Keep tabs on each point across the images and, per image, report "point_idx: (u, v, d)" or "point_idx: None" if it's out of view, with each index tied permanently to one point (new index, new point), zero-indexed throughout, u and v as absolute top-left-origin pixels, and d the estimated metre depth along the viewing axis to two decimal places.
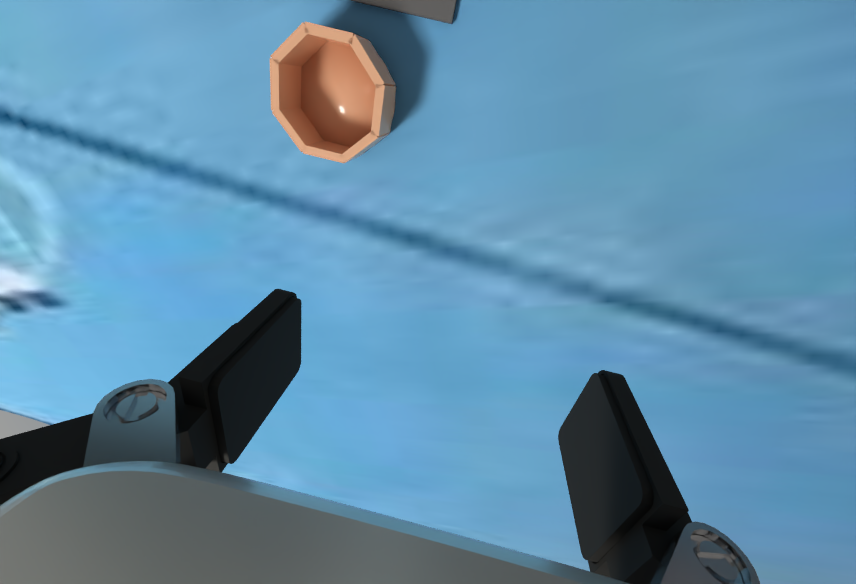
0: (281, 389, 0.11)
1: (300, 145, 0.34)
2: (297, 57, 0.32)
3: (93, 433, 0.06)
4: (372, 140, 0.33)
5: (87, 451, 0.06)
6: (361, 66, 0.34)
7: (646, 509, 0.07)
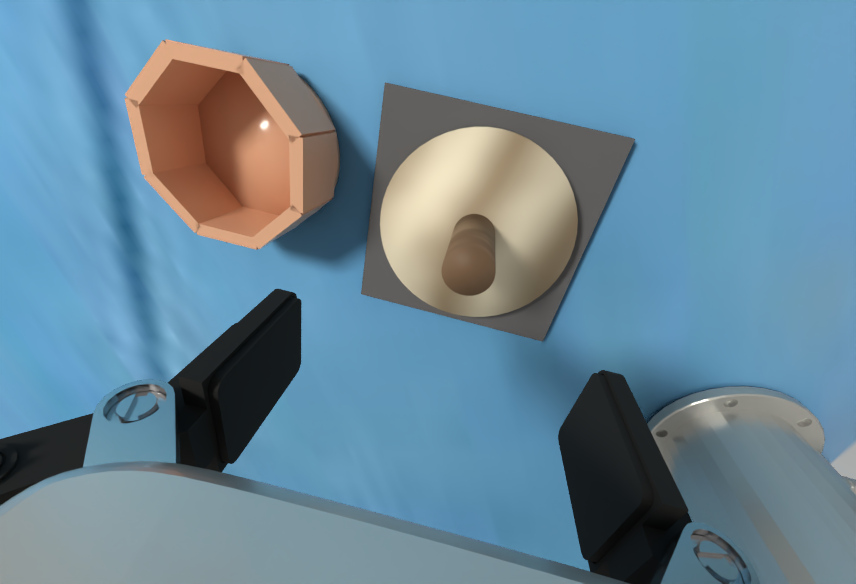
0: (281, 389, 0.11)
1: (134, 94, 0.19)
2: None
3: (93, 433, 0.06)
4: (189, 224, 0.23)
5: (87, 451, 0.06)
6: None
7: (646, 509, 0.07)
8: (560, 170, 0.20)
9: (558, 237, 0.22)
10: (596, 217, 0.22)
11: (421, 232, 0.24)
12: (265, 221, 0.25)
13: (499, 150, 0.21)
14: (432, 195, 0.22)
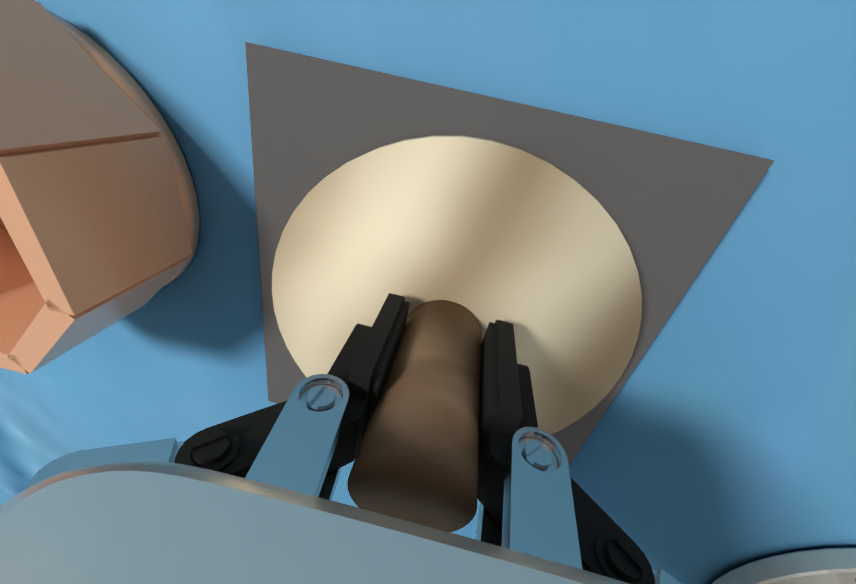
0: None
1: None
2: None
3: (288, 405, 0.07)
4: None
5: (277, 420, 0.07)
6: None
7: (493, 419, 0.08)
8: (613, 226, 0.10)
9: (601, 344, 0.12)
10: (671, 304, 0.12)
11: (348, 326, 0.13)
12: None
13: (486, 185, 0.10)
14: (360, 266, 0.12)
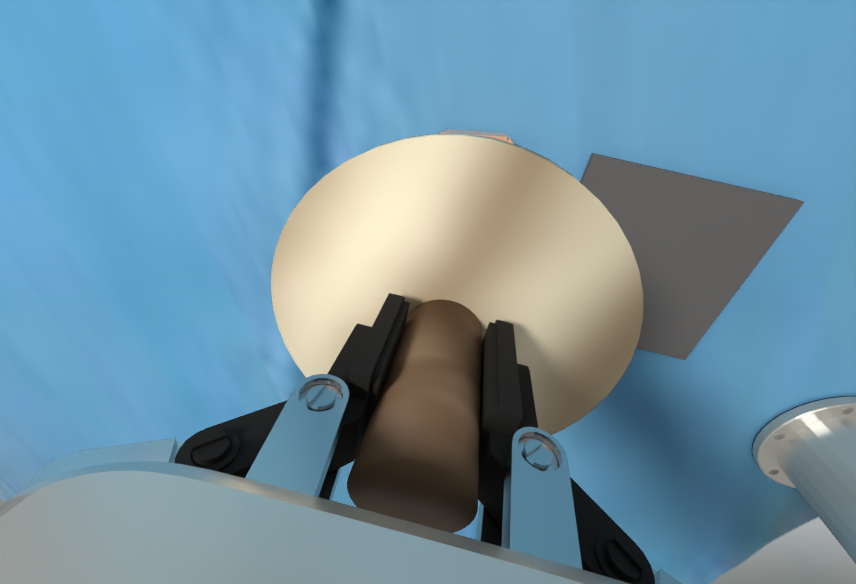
0: None
1: None
2: None
3: (288, 405, 0.07)
4: None
5: (277, 420, 0.07)
6: None
7: (493, 419, 0.08)
8: (614, 225, 0.10)
9: (603, 344, 0.12)
10: (756, 261, 0.27)
11: (348, 326, 0.13)
12: None
13: (487, 184, 0.10)
14: (360, 266, 0.12)
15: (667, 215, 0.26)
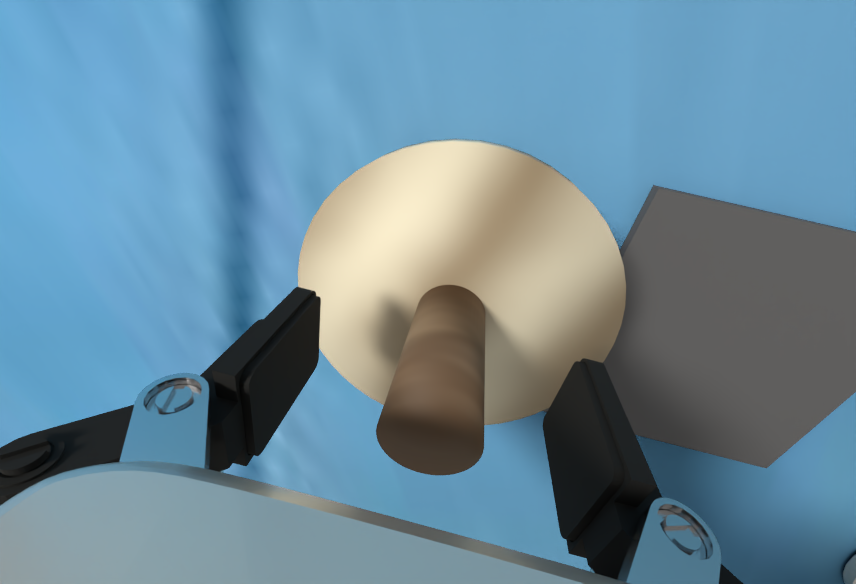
0: (301, 385, 0.11)
1: None
2: None
3: (134, 421, 0.06)
4: None
5: (126, 439, 0.06)
6: None
7: (617, 486, 0.07)
8: (605, 226, 0.12)
9: (590, 329, 0.13)
10: None
11: (365, 305, 0.15)
12: None
13: (498, 185, 0.11)
14: (381, 251, 0.13)
15: (768, 281, 0.17)
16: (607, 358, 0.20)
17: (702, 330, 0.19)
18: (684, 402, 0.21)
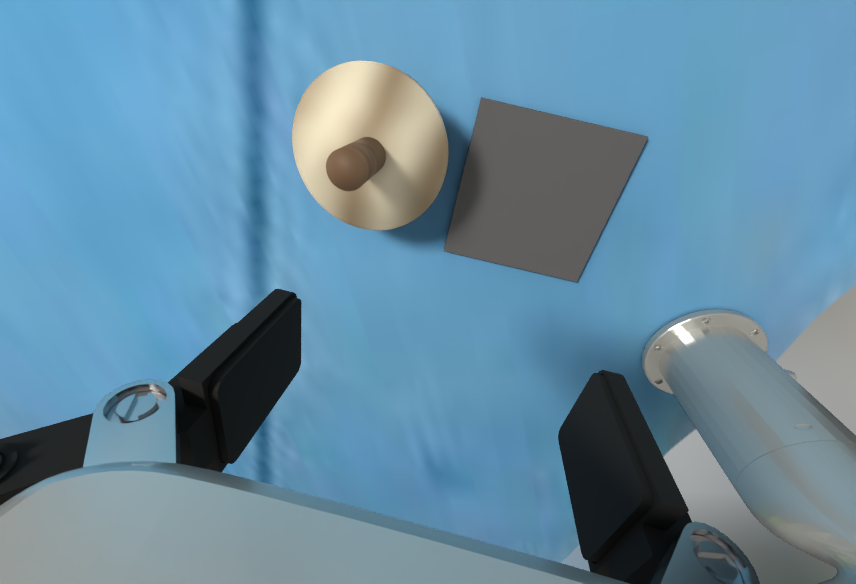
0: (281, 389, 0.11)
1: None
2: None
3: (94, 433, 0.06)
4: None
5: (87, 451, 0.06)
6: None
7: (646, 509, 0.07)
8: (429, 100, 0.26)
9: (434, 159, 0.28)
10: (620, 190, 0.33)
11: (327, 152, 0.29)
12: None
13: (381, 81, 0.26)
14: (333, 119, 0.28)
15: (545, 151, 0.32)
16: (474, 208, 0.35)
17: (520, 185, 0.34)
18: (521, 237, 0.36)
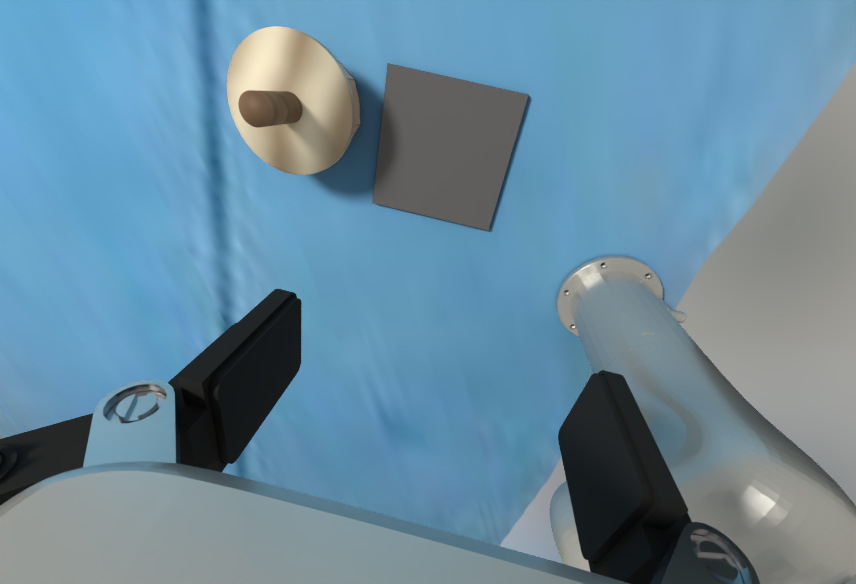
0: (281, 389, 0.11)
1: None
2: None
3: (94, 433, 0.06)
4: None
5: (87, 451, 0.06)
6: None
7: (646, 509, 0.07)
8: (331, 58, 0.32)
9: (341, 109, 0.34)
10: (512, 143, 0.38)
11: None
12: None
13: (292, 43, 0.32)
14: (257, 77, 0.34)
15: (446, 109, 0.37)
16: (393, 162, 0.41)
17: (429, 140, 0.39)
18: (436, 188, 0.42)
